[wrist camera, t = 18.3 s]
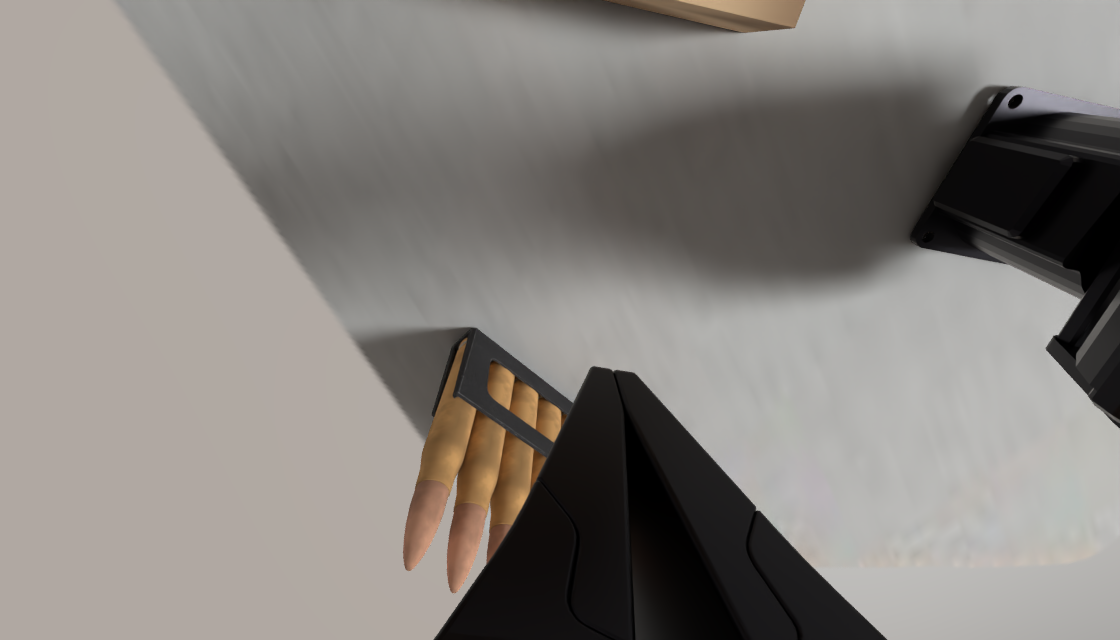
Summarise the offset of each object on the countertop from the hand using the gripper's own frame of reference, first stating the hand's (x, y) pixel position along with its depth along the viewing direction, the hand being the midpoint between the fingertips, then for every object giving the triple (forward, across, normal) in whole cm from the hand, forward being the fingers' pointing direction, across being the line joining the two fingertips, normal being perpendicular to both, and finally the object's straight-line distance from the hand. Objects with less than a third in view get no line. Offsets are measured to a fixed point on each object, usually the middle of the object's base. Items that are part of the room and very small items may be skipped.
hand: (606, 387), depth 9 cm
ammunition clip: (+13, 0, +11) cm, 18 cm away
